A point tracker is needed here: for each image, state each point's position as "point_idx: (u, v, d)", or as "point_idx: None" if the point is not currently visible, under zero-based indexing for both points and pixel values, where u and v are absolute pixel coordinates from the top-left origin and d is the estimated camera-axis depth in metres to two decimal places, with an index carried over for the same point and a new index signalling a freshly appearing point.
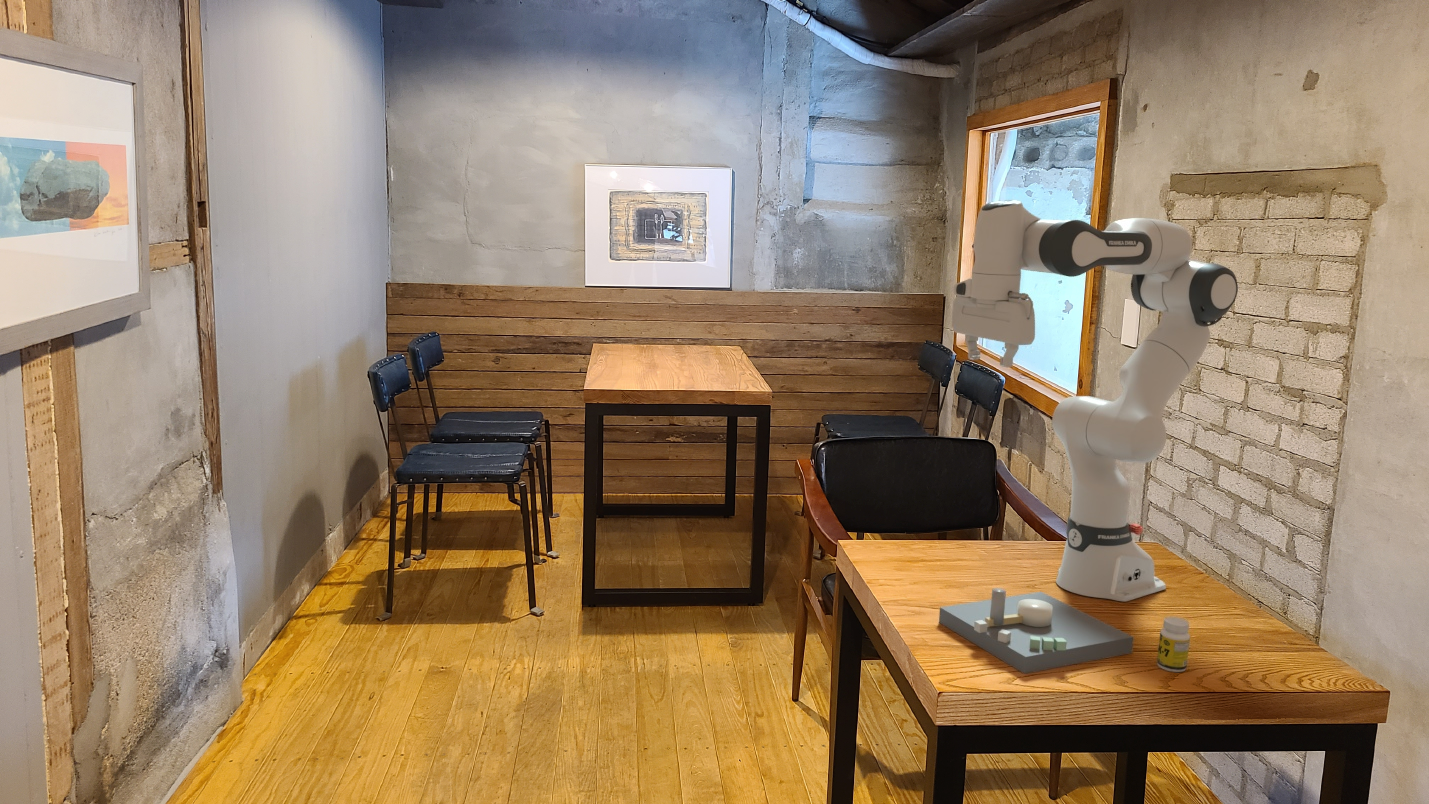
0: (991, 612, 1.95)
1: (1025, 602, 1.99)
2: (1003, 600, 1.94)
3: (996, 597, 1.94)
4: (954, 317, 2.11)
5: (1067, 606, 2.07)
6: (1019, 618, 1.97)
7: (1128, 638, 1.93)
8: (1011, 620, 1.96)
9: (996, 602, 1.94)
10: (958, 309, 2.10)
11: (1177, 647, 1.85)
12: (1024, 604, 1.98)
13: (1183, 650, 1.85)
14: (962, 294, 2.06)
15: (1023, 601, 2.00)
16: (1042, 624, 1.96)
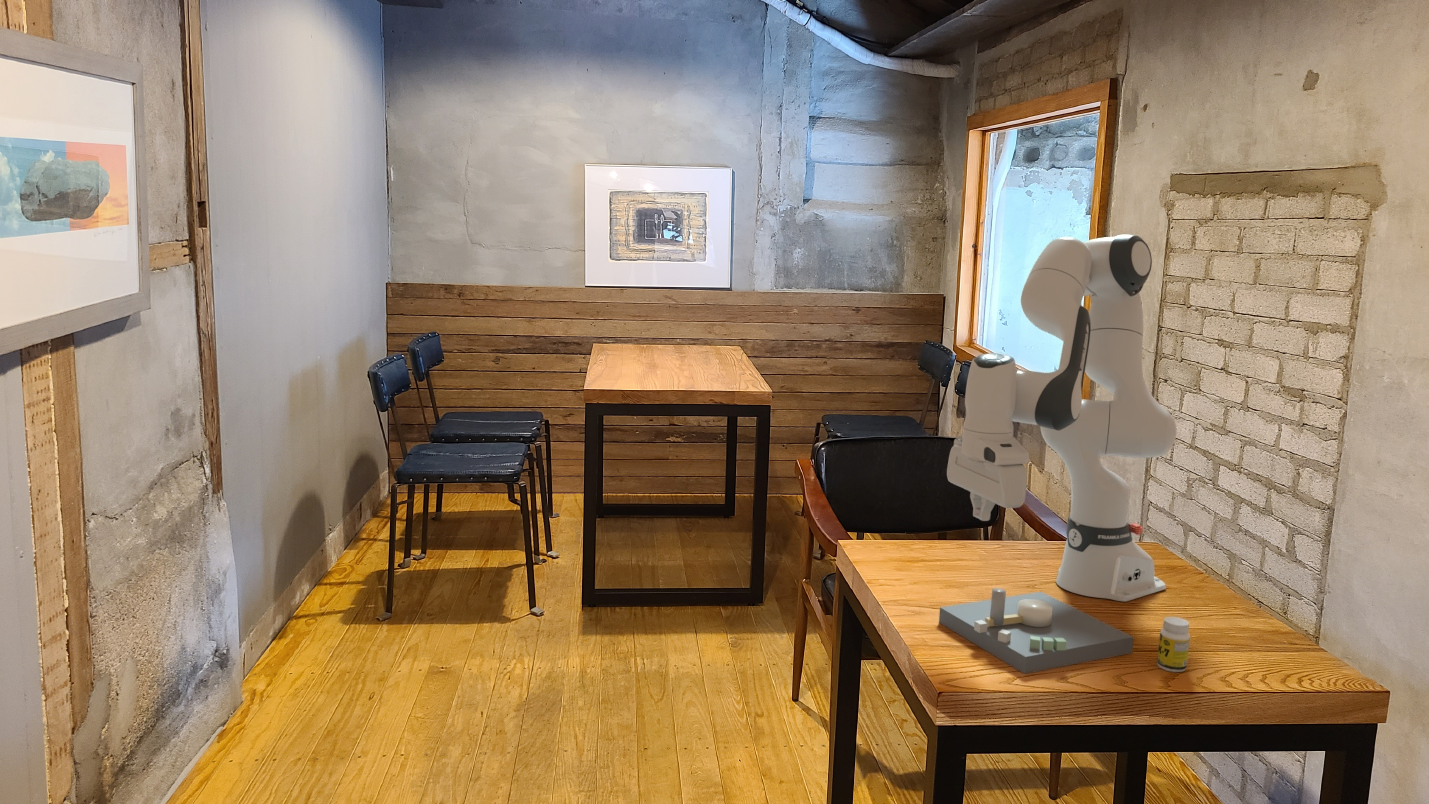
0: (991, 612, 1.95)
1: (1025, 602, 1.99)
2: (1003, 600, 1.94)
3: (996, 597, 1.94)
4: None
5: (1067, 606, 2.07)
6: (1019, 618, 1.97)
7: (1128, 638, 1.93)
8: (1011, 620, 1.96)
9: (996, 602, 1.94)
10: None
11: (1177, 647, 1.85)
12: (1024, 604, 1.98)
13: (1183, 650, 1.85)
14: None
15: (1023, 601, 2.00)
16: (1042, 624, 1.96)
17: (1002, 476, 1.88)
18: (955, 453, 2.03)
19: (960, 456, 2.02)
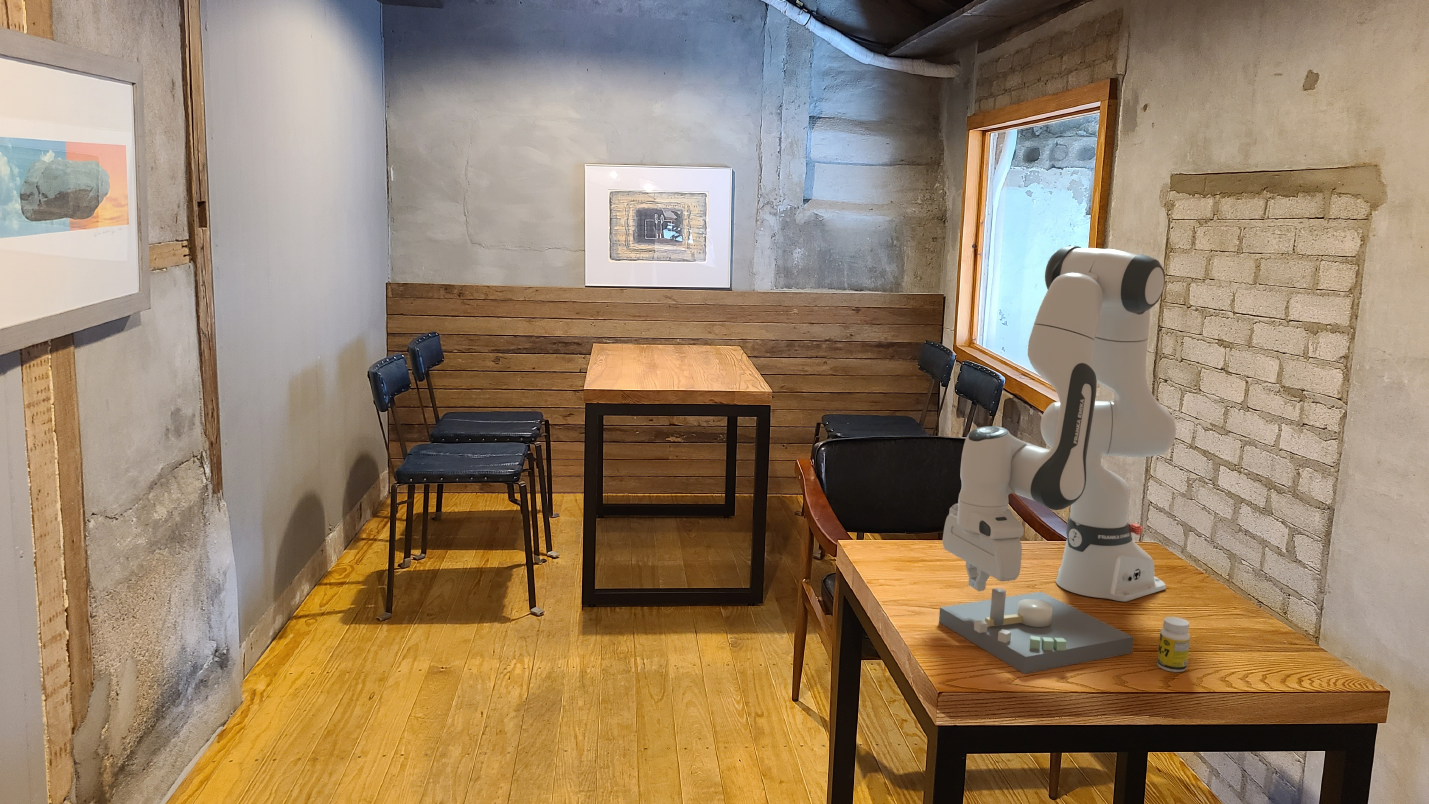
0: (991, 612, 1.95)
1: (1025, 602, 1.99)
2: (1003, 600, 1.94)
3: (996, 597, 1.94)
4: None
5: (1067, 606, 2.07)
6: (1019, 618, 1.97)
7: (1128, 638, 1.93)
8: (1011, 620, 1.96)
9: (996, 602, 1.94)
10: None
11: (1177, 647, 1.85)
12: (1024, 604, 1.98)
13: (1183, 650, 1.85)
14: None
15: (1023, 601, 2.00)
16: (1042, 624, 1.96)
17: (997, 550, 1.91)
18: (951, 522, 2.06)
19: (956, 526, 2.04)
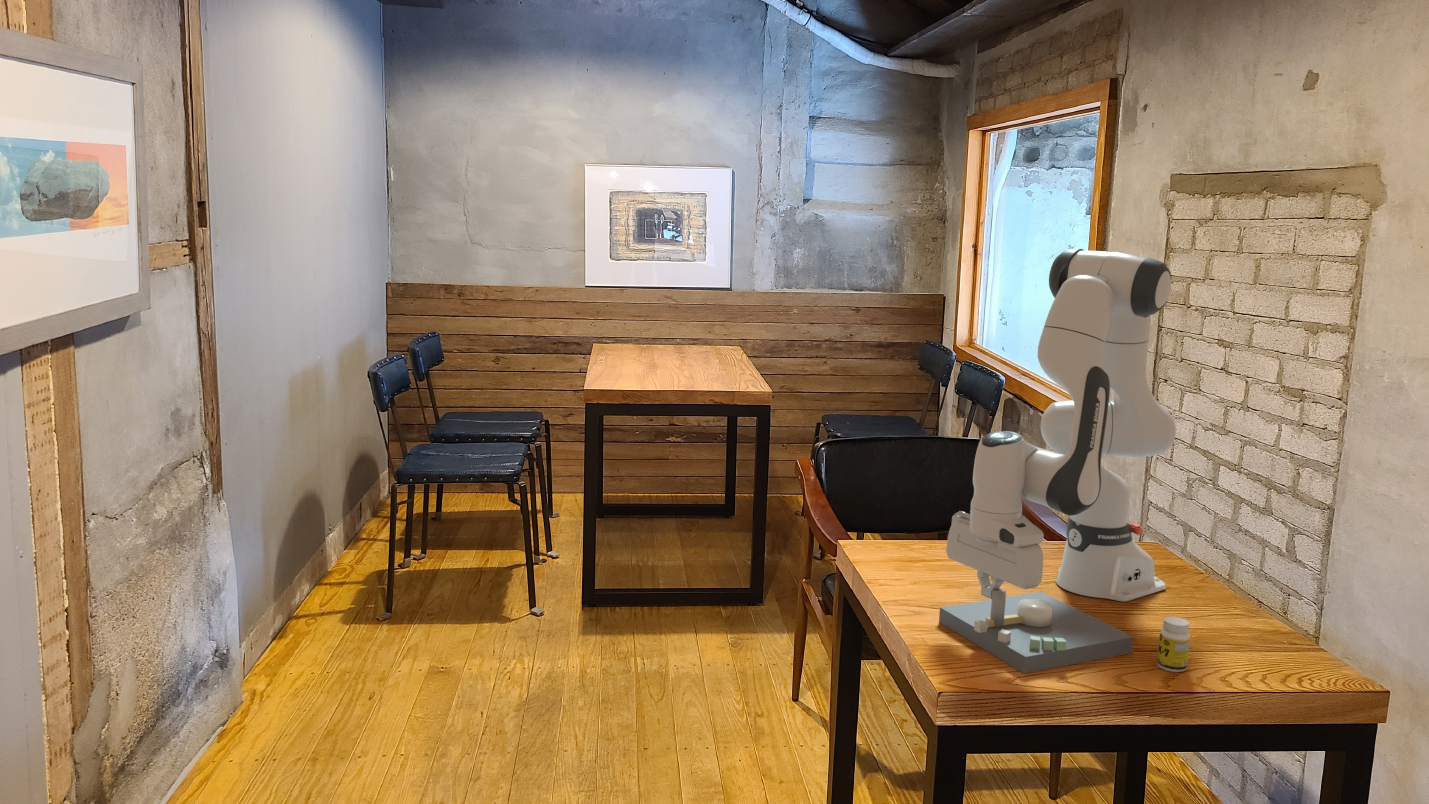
0: (991, 612, 1.95)
1: (1025, 602, 1.99)
2: (1003, 600, 1.94)
3: (997, 598, 1.94)
4: None
5: (1067, 606, 2.07)
6: (1019, 618, 1.97)
7: (1128, 638, 1.93)
8: (1011, 620, 1.96)
9: (997, 602, 1.94)
10: None
11: (1177, 647, 1.85)
12: (1024, 604, 1.98)
13: (1183, 650, 1.85)
14: None
15: (1023, 601, 2.00)
16: (1042, 624, 1.96)
17: (1022, 558, 1.87)
18: (958, 531, 2.00)
19: (964, 534, 1.99)
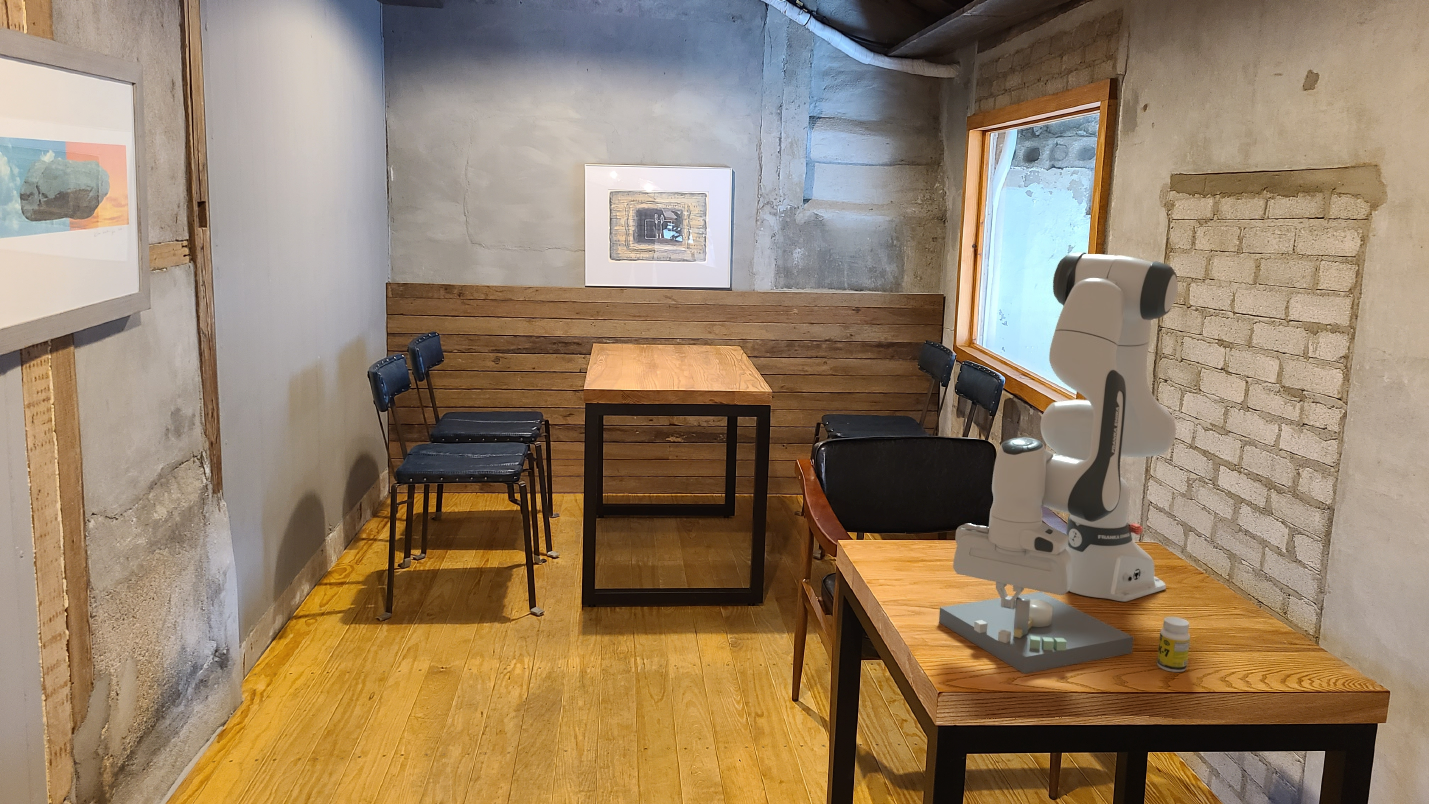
0: (1018, 623, 1.91)
1: None
2: (1029, 608, 1.91)
3: (1025, 607, 1.90)
4: None
5: (1067, 606, 2.07)
6: (1031, 622, 1.95)
7: (1128, 638, 1.93)
8: (1028, 626, 1.94)
9: (1025, 611, 1.90)
10: None
11: (1177, 647, 1.85)
12: None
13: (1183, 650, 1.85)
14: None
15: None
16: (1050, 622, 1.97)
17: (1061, 564, 1.84)
18: (970, 544, 1.93)
19: (979, 547, 1.92)
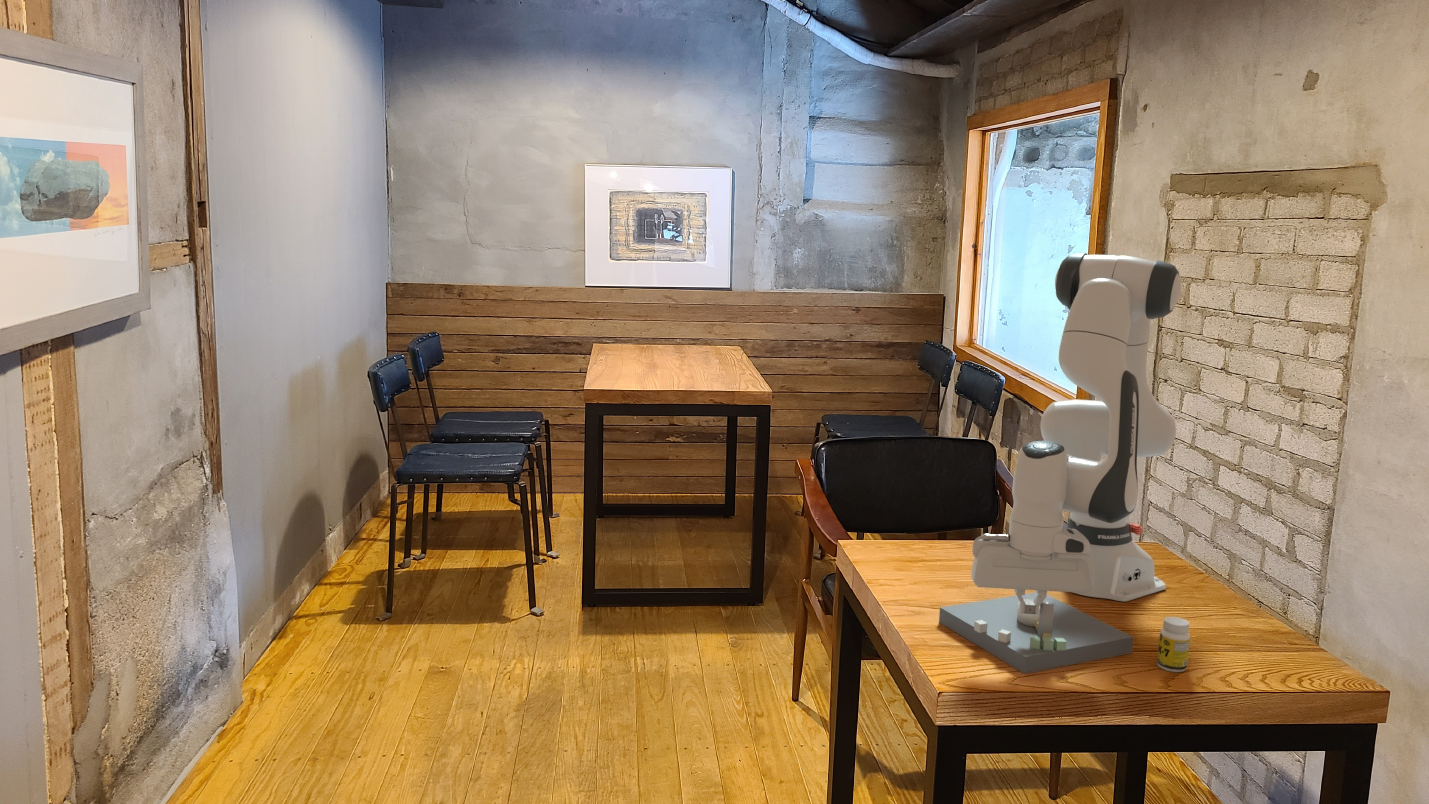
0: (1046, 627, 1.89)
1: None
2: None
3: (1052, 610, 1.89)
4: None
5: (1067, 606, 2.07)
6: None
7: (1128, 638, 1.93)
8: None
9: (1052, 614, 1.89)
10: None
11: (1177, 647, 1.85)
12: None
13: (1183, 650, 1.85)
14: None
15: None
16: None
17: (1089, 563, 1.85)
18: (993, 555, 1.87)
19: (1003, 556, 1.87)
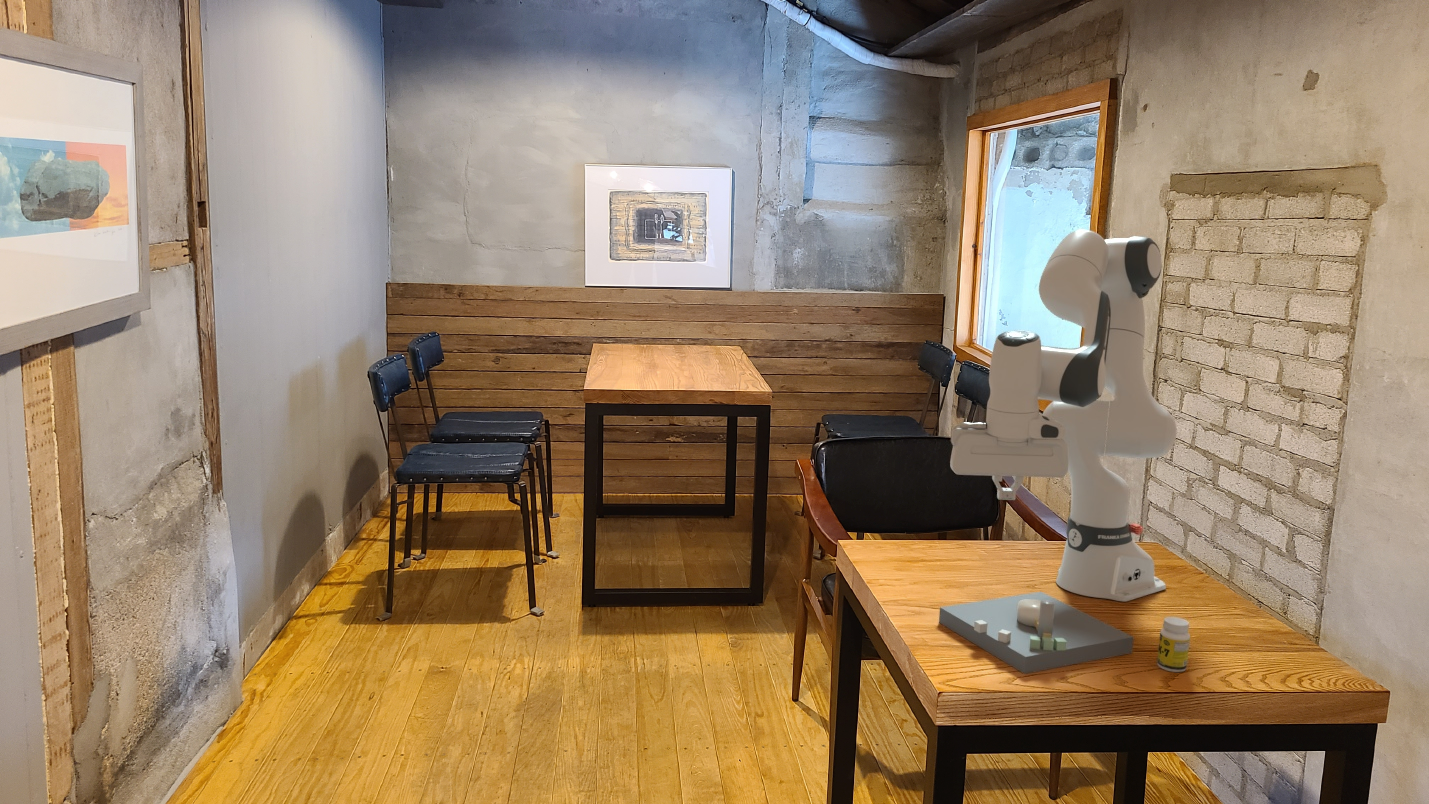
0: (1046, 627, 1.89)
1: (1028, 606, 1.97)
2: None
3: (1052, 610, 1.89)
4: None
5: (1067, 606, 2.07)
6: None
7: (1128, 638, 1.93)
8: None
9: (1052, 614, 1.89)
10: None
11: (1177, 647, 1.85)
12: (1033, 608, 1.96)
13: (1183, 650, 1.85)
14: None
15: (1025, 606, 1.97)
16: None
17: (1064, 448, 1.91)
18: (971, 442, 1.92)
19: (980, 444, 1.92)
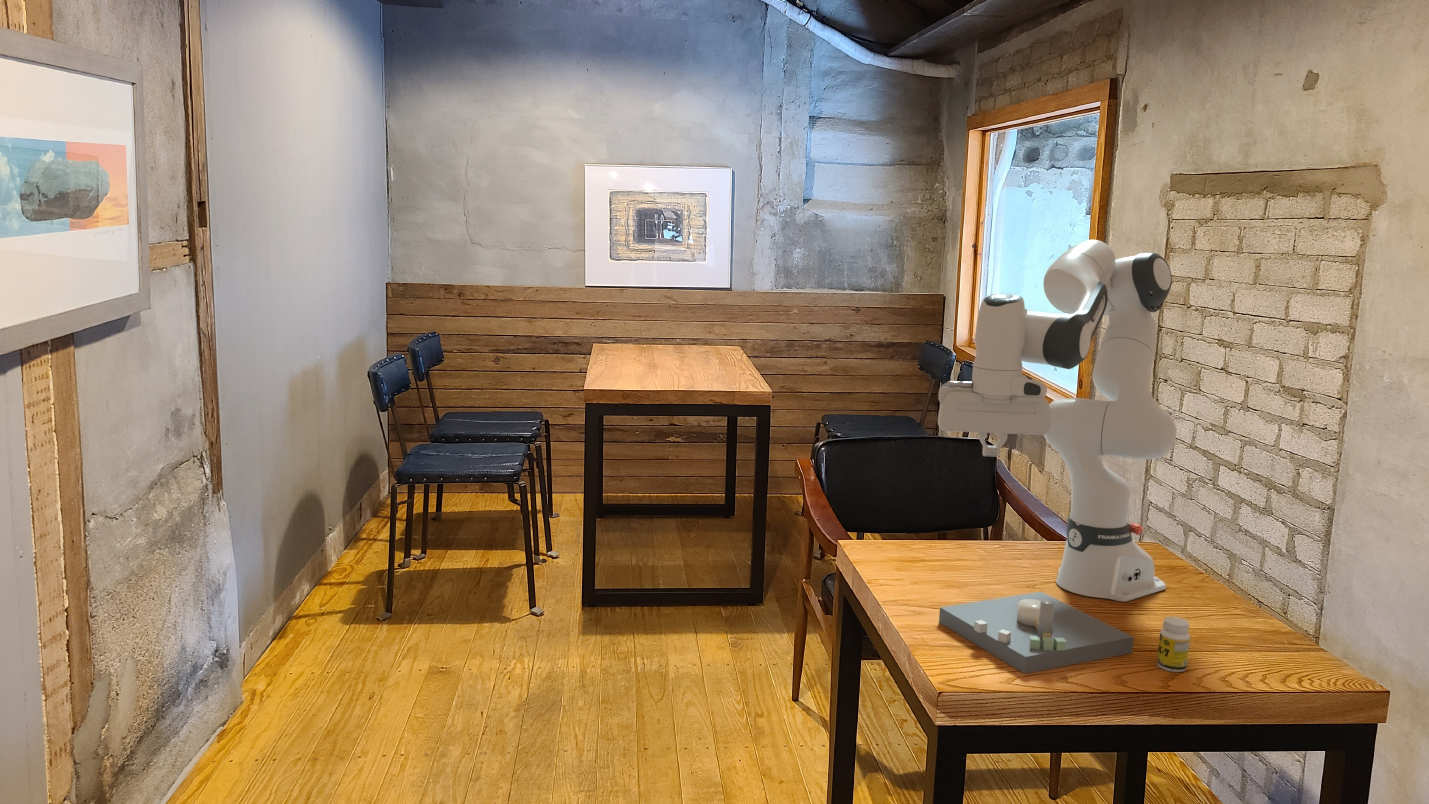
0: (1046, 627, 1.89)
1: (1028, 606, 1.97)
2: None
3: (1052, 610, 1.89)
4: None
5: (1067, 606, 2.07)
6: None
7: (1128, 638, 1.93)
8: None
9: (1052, 614, 1.89)
10: None
11: (1177, 647, 1.85)
12: (1033, 608, 1.96)
13: (1183, 650, 1.85)
14: None
15: (1025, 606, 1.97)
16: None
17: (1046, 406, 1.99)
18: (957, 400, 2.01)
19: (966, 401, 2.01)
